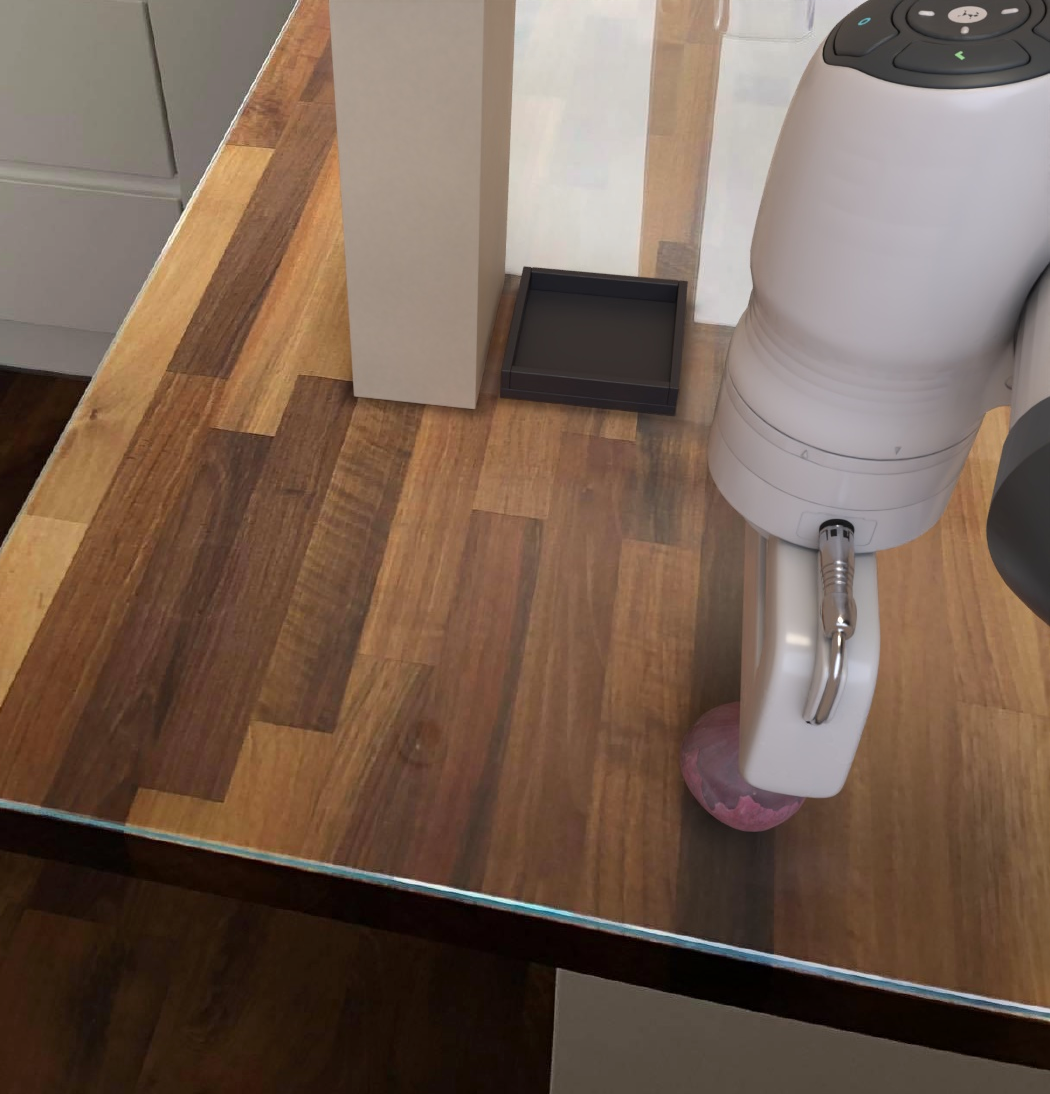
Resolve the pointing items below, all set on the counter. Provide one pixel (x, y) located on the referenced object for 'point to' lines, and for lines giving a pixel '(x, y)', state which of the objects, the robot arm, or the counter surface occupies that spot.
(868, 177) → the robot arm
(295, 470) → the counter surface
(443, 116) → the column
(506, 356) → the pan
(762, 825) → the vegetable
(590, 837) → the counter surface
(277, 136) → the counter surface
